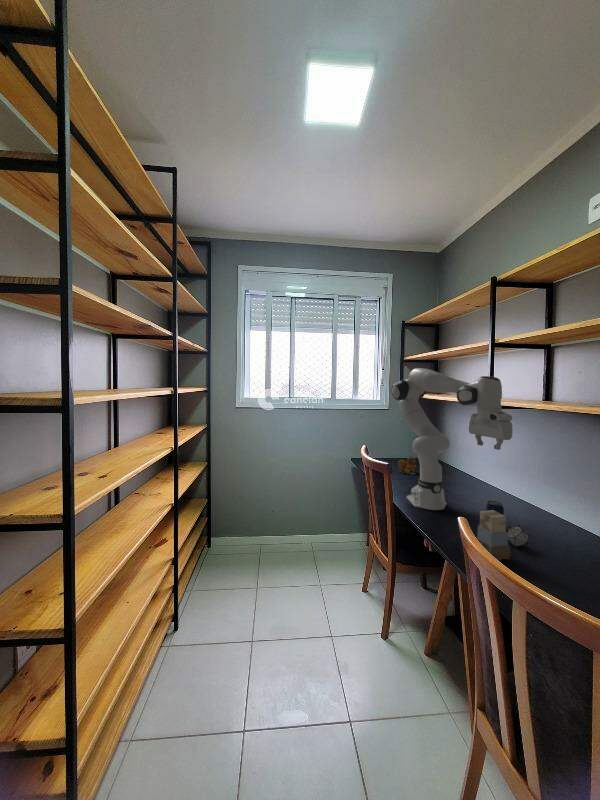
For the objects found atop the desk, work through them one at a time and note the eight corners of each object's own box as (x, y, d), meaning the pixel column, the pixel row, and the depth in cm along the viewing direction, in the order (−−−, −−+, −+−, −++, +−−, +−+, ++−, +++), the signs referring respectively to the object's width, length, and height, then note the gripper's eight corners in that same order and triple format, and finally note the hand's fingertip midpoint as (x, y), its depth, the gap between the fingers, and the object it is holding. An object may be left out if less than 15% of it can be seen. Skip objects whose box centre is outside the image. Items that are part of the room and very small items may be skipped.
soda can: (483, 529, 142) (484, 503, 141) (487, 524, 147) (488, 499, 146) (501, 534, 137) (501, 507, 137) (504, 528, 142) (505, 502, 142)
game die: (512, 555, 127) (495, 534, 128) (516, 541, 132) (500, 521, 133) (534, 553, 120) (517, 531, 121) (538, 538, 125) (521, 517, 127)
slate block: (477, 538, 123) (477, 525, 123) (493, 536, 124) (493, 524, 124) (491, 547, 116) (491, 533, 116) (507, 545, 117) (507, 532, 117)
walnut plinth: (475, 550, 123) (475, 537, 123) (492, 548, 125) (493, 536, 125) (490, 561, 116) (491, 548, 115) (509, 559, 117) (509, 546, 117)
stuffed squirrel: (416, 476, 228) (416, 458, 227) (396, 474, 234) (396, 456, 233) (417, 472, 237) (417, 455, 236) (398, 470, 243) (398, 454, 242)
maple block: (479, 526, 122) (479, 511, 122) (493, 525, 123) (493, 510, 123) (491, 533, 116) (491, 517, 116) (505, 531, 117) (505, 516, 117)
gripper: (465, 412, 141) (464, 443, 142) (501, 416, 121) (501, 452, 121) (477, 412, 142) (477, 442, 143) (516, 416, 122) (515, 451, 123)
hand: (488, 447), depth 132 cm, fingers open, 8 cm apart
